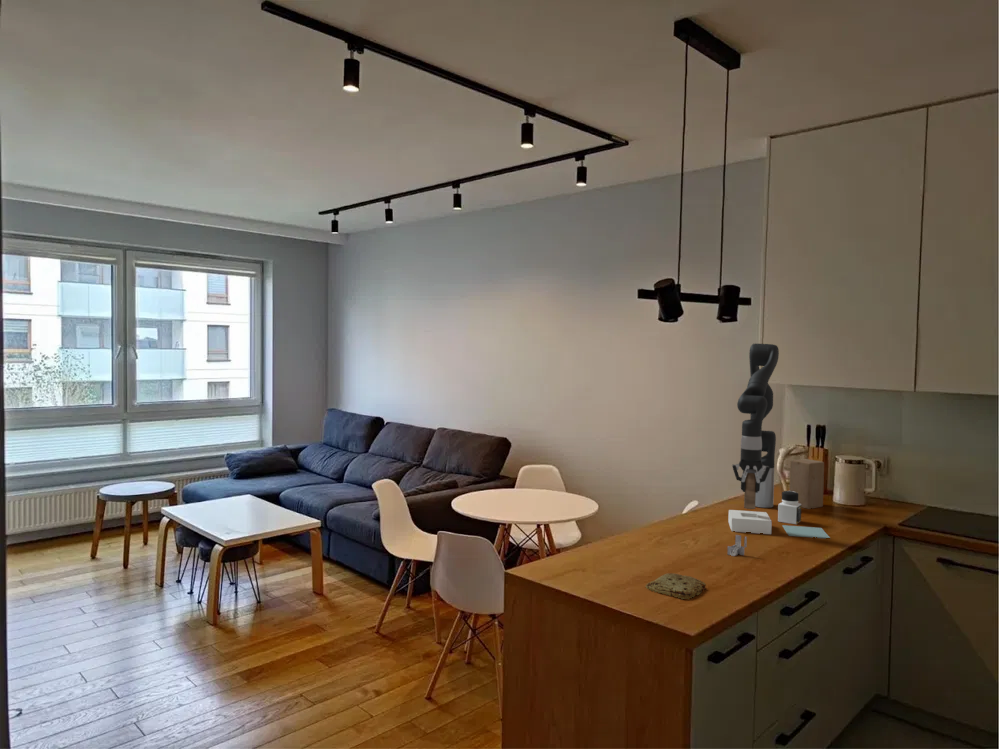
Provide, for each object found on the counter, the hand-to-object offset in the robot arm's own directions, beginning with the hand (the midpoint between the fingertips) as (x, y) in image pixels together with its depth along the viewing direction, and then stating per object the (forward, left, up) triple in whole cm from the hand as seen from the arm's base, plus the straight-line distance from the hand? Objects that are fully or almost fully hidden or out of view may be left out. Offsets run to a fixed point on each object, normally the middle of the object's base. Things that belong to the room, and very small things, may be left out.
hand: (750, 491), depth 256 cm
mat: (0, +20, -14) cm, 24 cm away
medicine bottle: (-16, +17, -14) cm, 27 cm away
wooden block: (-48, +29, -14) cm, 58 cm away
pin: (0, 0, -6) cm, 6 cm away
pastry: (+76, -28, -15) cm, 82 cm away
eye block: (0, 0, -14) cm, 14 cm away
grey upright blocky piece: (+42, -6, -15) cm, 45 cm away
